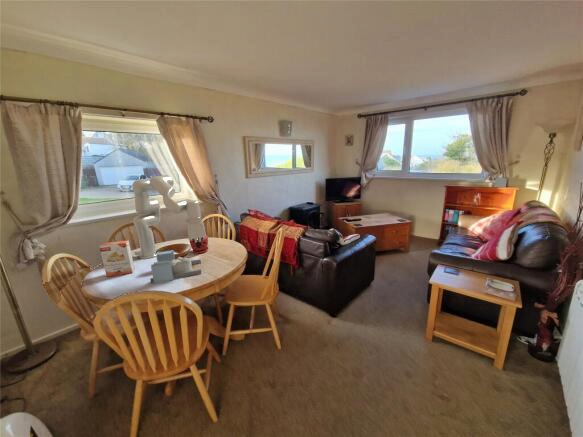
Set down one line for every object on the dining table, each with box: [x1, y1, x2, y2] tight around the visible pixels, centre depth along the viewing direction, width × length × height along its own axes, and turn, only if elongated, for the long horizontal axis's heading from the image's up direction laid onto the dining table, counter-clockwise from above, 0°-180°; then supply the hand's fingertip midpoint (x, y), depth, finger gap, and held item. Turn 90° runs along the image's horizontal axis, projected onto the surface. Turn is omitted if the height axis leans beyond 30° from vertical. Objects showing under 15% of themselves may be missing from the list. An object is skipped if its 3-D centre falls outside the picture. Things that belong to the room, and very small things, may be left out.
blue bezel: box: [150, 249, 176, 284], centre depth 146 cm, size 10×21×12 cm, turn 22°
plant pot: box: [189, 234, 209, 254], centre depth 180 cm, size 13×13×12 cm
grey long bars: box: [149, 258, 202, 284], centre depth 150 cm, size 28×17×2 cm, turn 112°
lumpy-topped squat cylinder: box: [169, 256, 193, 274], centre depth 149 cm, size 10×13×9 cm
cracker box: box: [98, 240, 135, 278], centre depth 147 cm, size 14×6×21 cm, turn 110°
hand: (199, 247), depth 151 cm, fingers closed
